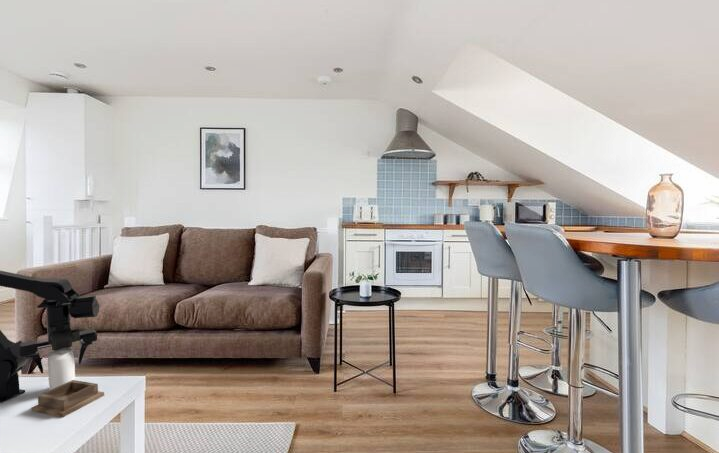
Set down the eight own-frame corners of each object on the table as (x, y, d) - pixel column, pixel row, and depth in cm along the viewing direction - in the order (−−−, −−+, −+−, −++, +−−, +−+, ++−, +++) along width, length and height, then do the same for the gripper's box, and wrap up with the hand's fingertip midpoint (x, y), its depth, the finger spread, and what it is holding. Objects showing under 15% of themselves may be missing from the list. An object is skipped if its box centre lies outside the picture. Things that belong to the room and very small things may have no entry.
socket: (31, 410, 105) (30, 397, 105) (74, 390, 116) (74, 378, 116) (63, 417, 101) (62, 402, 101) (104, 395, 113) (103, 382, 113)
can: (61, 394, 114) (58, 356, 113) (44, 392, 115) (41, 354, 114) (80, 384, 120) (78, 348, 120) (64, 382, 121) (62, 347, 121)
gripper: (19, 333, 104) (22, 387, 105) (99, 318, 117) (101, 367, 118) (18, 324, 112) (21, 374, 113) (93, 311, 125) (95, 357, 126)
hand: (61, 368), depth 117 cm, fingers open, 9 cm apart
